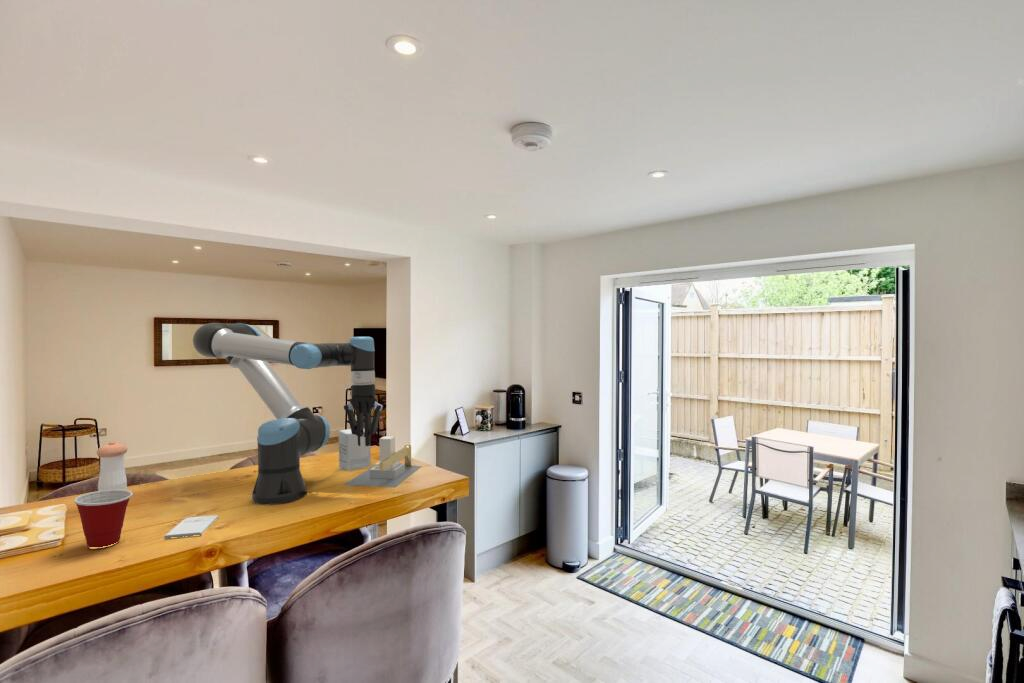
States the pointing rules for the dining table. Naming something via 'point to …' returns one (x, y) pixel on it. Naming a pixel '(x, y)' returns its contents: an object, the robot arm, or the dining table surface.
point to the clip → (397, 458)
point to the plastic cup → (103, 515)
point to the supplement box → (351, 452)
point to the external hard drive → (191, 526)
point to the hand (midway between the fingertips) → (364, 455)
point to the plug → (387, 450)
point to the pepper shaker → (112, 467)
